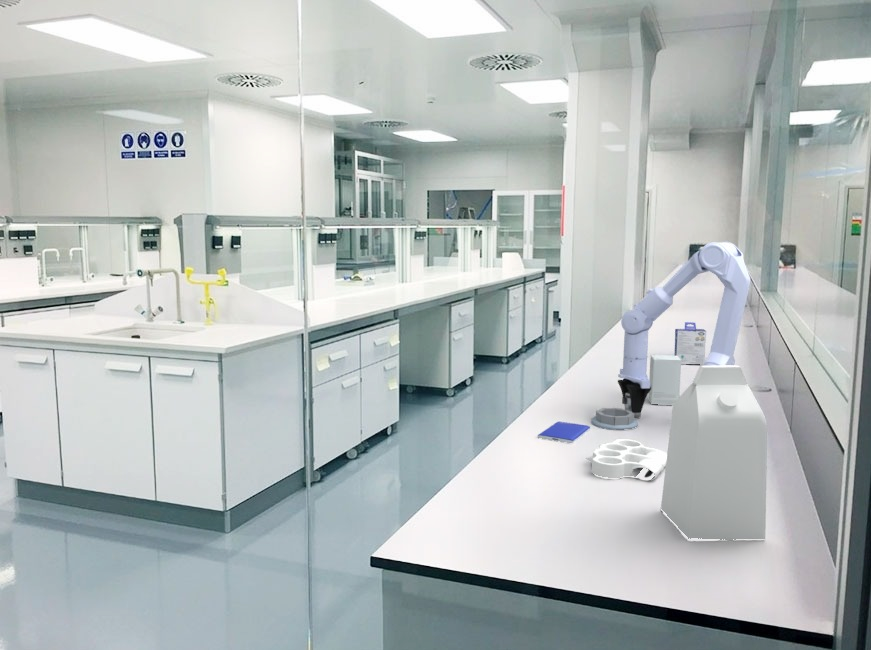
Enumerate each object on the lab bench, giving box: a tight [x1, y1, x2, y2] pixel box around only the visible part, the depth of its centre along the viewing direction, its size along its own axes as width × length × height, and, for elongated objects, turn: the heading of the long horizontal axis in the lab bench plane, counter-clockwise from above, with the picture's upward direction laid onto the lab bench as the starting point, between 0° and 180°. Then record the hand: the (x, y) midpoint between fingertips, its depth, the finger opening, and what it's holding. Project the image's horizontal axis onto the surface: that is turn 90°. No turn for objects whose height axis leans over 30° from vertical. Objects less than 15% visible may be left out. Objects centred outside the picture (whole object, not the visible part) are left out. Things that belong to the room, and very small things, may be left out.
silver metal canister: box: [621, 392, 642, 419], centre depth 176 cm, size 4×5×6 cm
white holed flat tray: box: [585, 438, 667, 481], centre depth 139 cm, size 3×18×15 cm
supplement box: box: [647, 354, 682, 407], centre depth 190 cm, size 7×7×13 cm
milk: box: [660, 364, 768, 540], centre depth 110 cm, size 12×12×26 cm
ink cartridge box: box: [673, 321, 707, 366], centre depth 245 cm, size 10×6×14 cm, turn 81°
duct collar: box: [591, 407, 639, 431], centre depth 170 cm, size 11×11×3 cm
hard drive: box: [537, 421, 591, 444], centre depth 161 cm, size 2×8×12 cm
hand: (632, 410), depth 176 cm, fingers closed on silver metal canister, 4 cm apart
